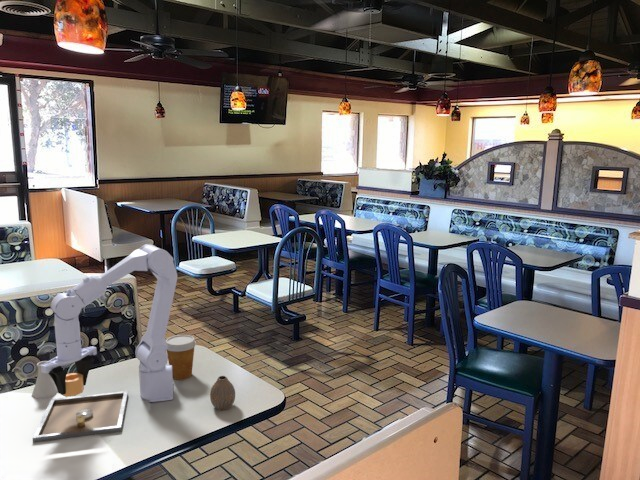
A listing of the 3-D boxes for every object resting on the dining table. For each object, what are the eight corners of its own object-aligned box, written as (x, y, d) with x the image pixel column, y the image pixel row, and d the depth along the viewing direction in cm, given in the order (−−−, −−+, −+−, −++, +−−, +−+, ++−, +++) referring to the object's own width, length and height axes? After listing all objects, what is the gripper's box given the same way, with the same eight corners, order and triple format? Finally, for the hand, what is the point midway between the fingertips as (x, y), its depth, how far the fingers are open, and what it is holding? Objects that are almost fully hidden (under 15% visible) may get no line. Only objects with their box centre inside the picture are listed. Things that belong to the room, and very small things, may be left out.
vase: (240, 406, 145) (240, 377, 143) (220, 415, 140) (219, 385, 138) (225, 398, 149) (224, 369, 148) (205, 406, 144) (204, 377, 143)
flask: (48, 402, 145) (45, 369, 144) (25, 400, 147) (22, 367, 145) (65, 391, 152) (62, 359, 151) (44, 388, 154) (41, 356, 152)
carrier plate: (128, 397, 149) (128, 394, 149) (121, 434, 130) (121, 431, 130) (51, 405, 144) (51, 403, 144) (33, 445, 125) (32, 442, 125)
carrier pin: (85, 424, 133) (85, 414, 133) (84, 427, 131) (83, 418, 131) (78, 425, 133) (77, 415, 132) (76, 428, 131) (76, 419, 130)
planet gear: (85, 386, 139) (83, 372, 138) (81, 395, 134) (80, 380, 133) (63, 388, 137) (62, 374, 137) (59, 397, 132) (58, 382, 132)
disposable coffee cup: (192, 367, 170) (191, 332, 167) (200, 378, 161) (199, 342, 159) (163, 372, 165) (161, 337, 163) (169, 384, 157) (167, 347, 155)
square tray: (128, 394, 149) (127, 390, 149) (121, 431, 130) (120, 427, 130) (51, 403, 144) (51, 399, 143) (32, 442, 125) (32, 438, 124)
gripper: (83, 328, 141) (87, 374, 144) (31, 345, 129) (36, 396, 131) (100, 333, 138) (103, 380, 140) (48, 351, 125) (53, 403, 128)
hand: (72, 388), depth 135 cm, fingers closed on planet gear, 5 cm apart
